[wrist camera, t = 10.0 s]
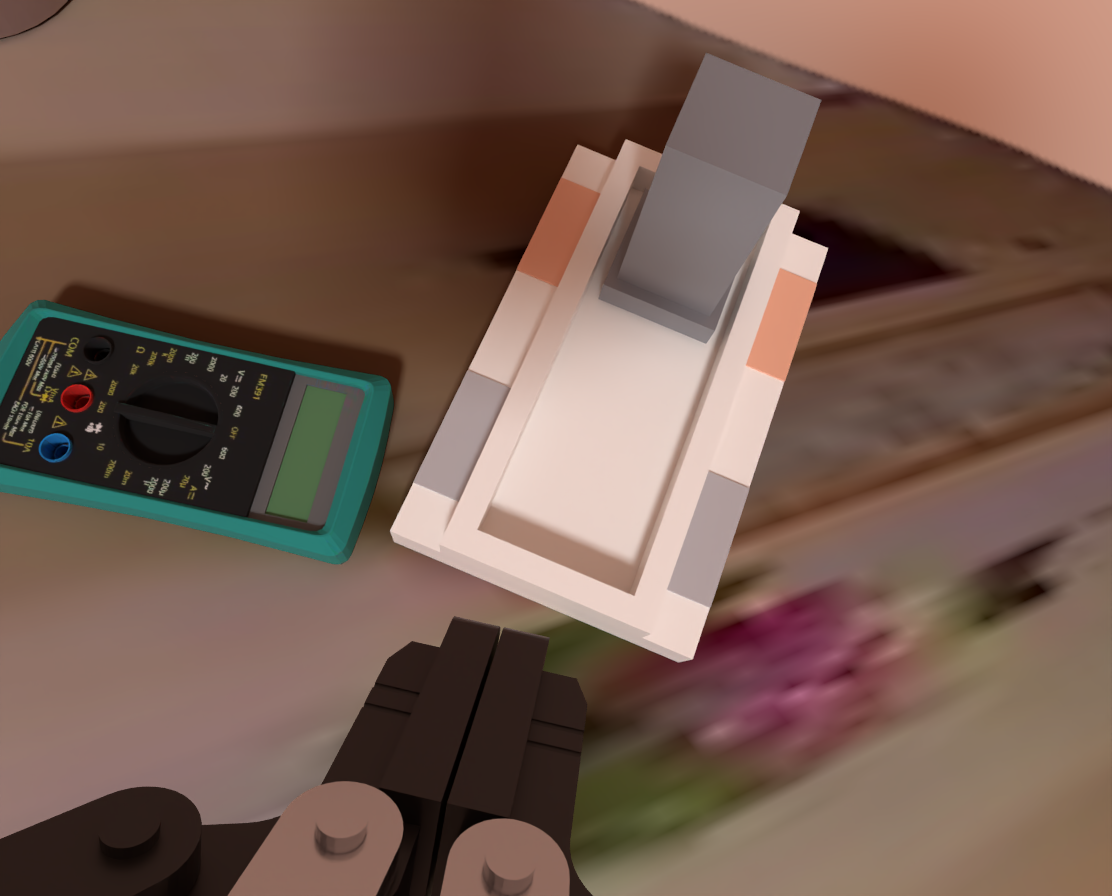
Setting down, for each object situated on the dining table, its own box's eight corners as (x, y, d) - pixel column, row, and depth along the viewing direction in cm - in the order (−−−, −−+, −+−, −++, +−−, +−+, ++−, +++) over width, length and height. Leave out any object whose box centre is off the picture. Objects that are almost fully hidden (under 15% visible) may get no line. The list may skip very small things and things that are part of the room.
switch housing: (394, 541, 31) (386, 521, 28) (571, 172, 38) (582, 121, 34) (678, 662, 31) (704, 656, 28) (809, 271, 37) (843, 229, 34)
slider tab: (598, 298, 33) (647, 152, 24) (639, 205, 35) (699, 36, 26) (706, 343, 33) (794, 213, 24) (742, 247, 35) (837, 93, 26)
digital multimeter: (46, 320, 33) (8, 284, 30) (402, 400, 34) (397, 372, 31) (-31, 488, 31) (-80, 466, 28) (354, 571, 31) (344, 557, 29)
